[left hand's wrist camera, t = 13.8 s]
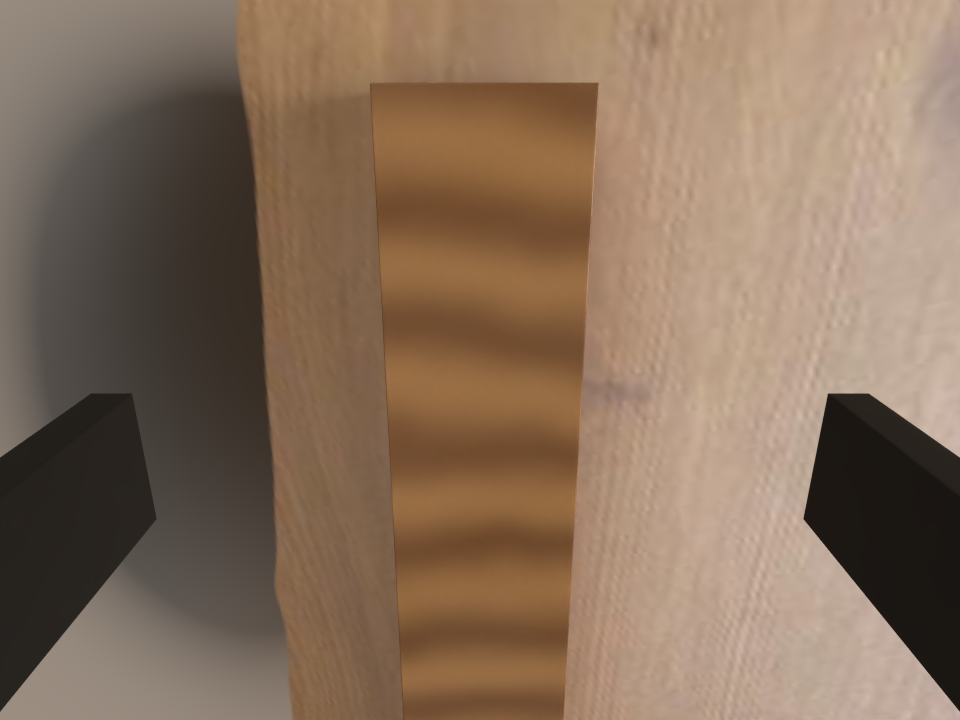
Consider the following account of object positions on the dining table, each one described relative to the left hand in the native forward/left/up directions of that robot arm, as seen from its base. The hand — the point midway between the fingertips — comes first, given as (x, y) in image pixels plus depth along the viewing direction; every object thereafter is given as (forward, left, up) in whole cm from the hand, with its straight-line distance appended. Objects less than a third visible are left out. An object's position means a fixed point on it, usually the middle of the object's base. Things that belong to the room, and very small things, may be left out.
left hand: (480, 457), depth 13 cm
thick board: (+20, +5, -25) cm, 32 cm away
